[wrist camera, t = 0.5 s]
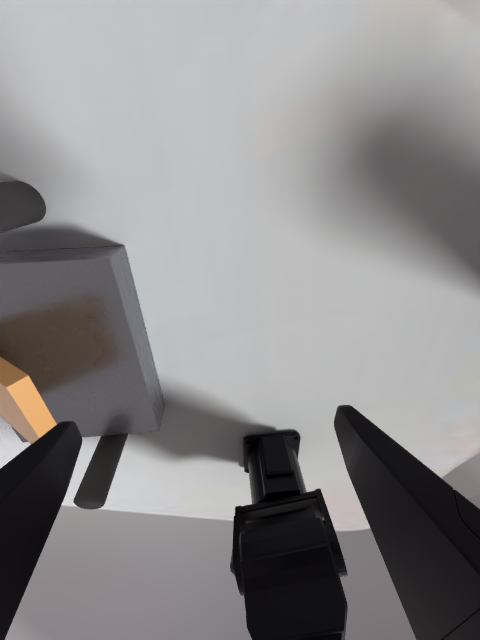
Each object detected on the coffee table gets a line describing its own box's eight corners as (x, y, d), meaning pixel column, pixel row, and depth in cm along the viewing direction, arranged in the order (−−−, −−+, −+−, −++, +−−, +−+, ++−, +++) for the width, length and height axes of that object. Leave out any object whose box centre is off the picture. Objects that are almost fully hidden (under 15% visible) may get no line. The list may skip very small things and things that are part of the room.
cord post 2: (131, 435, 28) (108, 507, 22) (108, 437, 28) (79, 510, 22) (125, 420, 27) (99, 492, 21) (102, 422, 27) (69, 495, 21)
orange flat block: (-35, 332, 18) (-56, 339, 17) (27, 373, 14) (5, 385, 13) (15, 407, 21) (0, 416, 20) (75, 457, 17) (60, 470, 17)
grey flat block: (164, 405, 27) (159, 430, 24) (40, 415, 26) (20, 442, 23) (124, 245, 18) (109, 258, 16) (-57, 255, 18) (-103, 269, 15)
